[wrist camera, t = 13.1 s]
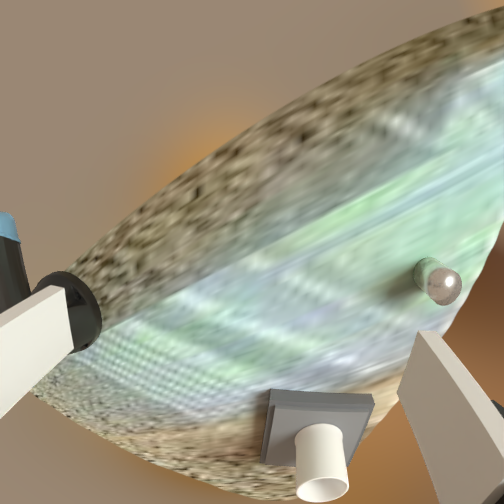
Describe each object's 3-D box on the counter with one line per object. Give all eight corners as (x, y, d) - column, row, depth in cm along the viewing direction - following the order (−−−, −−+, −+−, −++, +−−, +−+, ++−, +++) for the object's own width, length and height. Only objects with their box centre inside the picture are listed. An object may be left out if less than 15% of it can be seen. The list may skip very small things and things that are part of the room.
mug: (319, 465, 50) (322, 513, 39) (279, 456, 50) (276, 506, 39) (351, 428, 47) (361, 480, 36) (307, 418, 47) (310, 472, 36)
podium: (260, 452, 55) (259, 466, 52) (270, 388, 51) (269, 403, 47) (346, 456, 54) (348, 470, 50) (371, 393, 50) (376, 407, 46)
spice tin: (410, 287, 44) (427, 304, 38) (416, 255, 43) (436, 269, 36) (436, 289, 44) (456, 306, 37) (443, 258, 43) (465, 272, 36)
